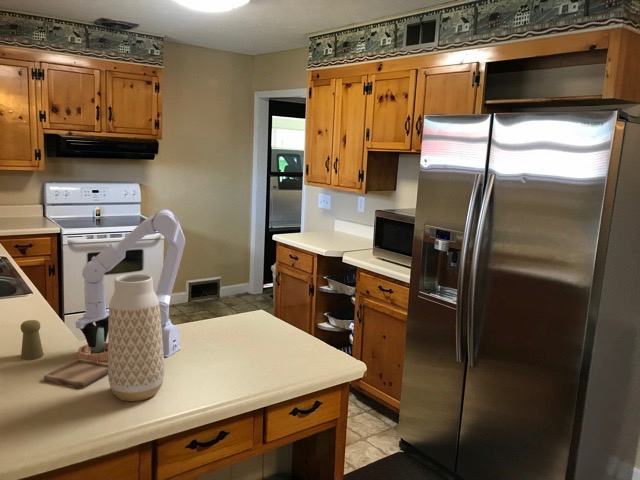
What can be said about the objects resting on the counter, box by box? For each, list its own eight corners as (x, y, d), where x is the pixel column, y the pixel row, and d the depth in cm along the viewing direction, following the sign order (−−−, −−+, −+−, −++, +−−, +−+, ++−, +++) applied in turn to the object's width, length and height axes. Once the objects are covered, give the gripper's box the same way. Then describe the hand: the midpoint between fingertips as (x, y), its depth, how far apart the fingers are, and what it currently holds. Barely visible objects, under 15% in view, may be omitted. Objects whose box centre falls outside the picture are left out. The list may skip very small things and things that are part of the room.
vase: (110, 409, 131) (105, 286, 126) (107, 386, 144) (103, 273, 139) (168, 400, 137) (165, 282, 132) (161, 378, 149) (158, 270, 144)
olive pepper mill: (34, 361, 159) (31, 325, 157) (16, 359, 160) (13, 323, 158) (48, 353, 165) (46, 318, 163) (30, 351, 166) (28, 317, 164)
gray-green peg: (107, 352, 166) (106, 327, 164) (98, 356, 162) (97, 331, 161) (96, 350, 167) (95, 325, 166) (87, 354, 163) (86, 329, 162)
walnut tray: (116, 369, 154) (116, 364, 154) (83, 388, 142) (83, 383, 142) (79, 363, 158) (79, 358, 158) (44, 380, 146) (43, 375, 146)
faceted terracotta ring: (123, 351, 168) (123, 344, 168) (99, 364, 158) (99, 356, 158) (95, 346, 171) (95, 340, 171) (70, 358, 161) (70, 351, 161)
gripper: (101, 293, 170) (102, 334, 172) (66, 305, 156) (68, 350, 158) (119, 295, 168) (121, 337, 170) (86, 308, 154) (88, 353, 156)
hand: (97, 344), depth 164 cm, fingers closed on gray-green peg, 4 cm apart
